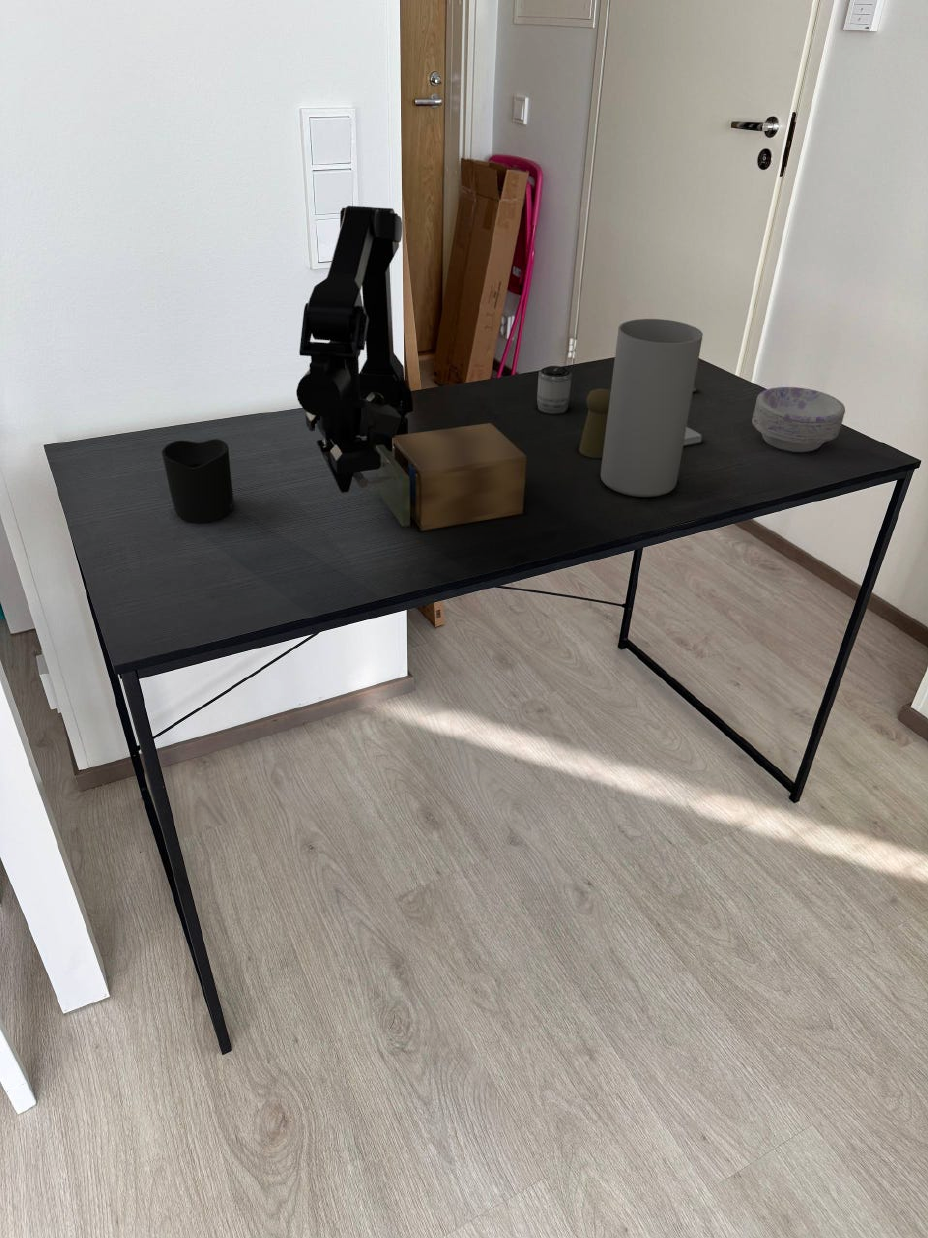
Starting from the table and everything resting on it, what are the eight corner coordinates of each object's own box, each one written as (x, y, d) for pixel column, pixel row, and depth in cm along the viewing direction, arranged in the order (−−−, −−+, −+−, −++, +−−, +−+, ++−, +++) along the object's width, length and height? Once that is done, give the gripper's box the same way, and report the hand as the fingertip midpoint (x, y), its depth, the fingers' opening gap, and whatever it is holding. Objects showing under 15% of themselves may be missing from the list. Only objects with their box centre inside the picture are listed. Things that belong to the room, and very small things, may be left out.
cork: (611, 459, 156) (619, 398, 150) (577, 456, 157) (583, 395, 151) (614, 446, 161) (621, 386, 155) (580, 442, 162) (586, 383, 156)
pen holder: (204, 531, 132) (194, 468, 126) (159, 514, 136) (148, 452, 130) (249, 506, 138) (241, 446, 133) (205, 491, 142) (196, 431, 137)
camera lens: (570, 404, 178) (574, 365, 173) (566, 416, 172) (569, 376, 168) (538, 401, 179) (541, 362, 174) (533, 412, 174) (536, 372, 169)
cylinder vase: (592, 491, 146) (610, 336, 132) (609, 461, 156) (627, 314, 142) (669, 504, 143) (696, 348, 129) (681, 473, 152) (707, 324, 138)
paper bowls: (786, 465, 156) (797, 422, 152) (731, 432, 168) (739, 391, 163) (852, 452, 162) (865, 410, 157) (795, 421, 173) (805, 381, 169)
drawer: (366, 532, 131) (364, 484, 126) (343, 496, 140) (340, 449, 136) (498, 510, 138) (500, 463, 133) (467, 477, 147) (469, 432, 143)
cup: (404, 500, 137) (403, 467, 134) (415, 487, 141) (415, 454, 138) (434, 505, 136) (434, 472, 133) (444, 492, 140) (445, 459, 137)
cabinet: (421, 531, 134) (421, 471, 128) (393, 492, 144) (391, 435, 138) (522, 513, 139) (526, 456, 133) (488, 477, 149) (490, 422, 144)
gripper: (416, 406, 120) (416, 511, 128) (375, 362, 134) (377, 459, 143) (334, 416, 116) (340, 523, 125) (301, 369, 130) (308, 468, 139)
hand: (344, 491), depth 133 cm, fingers closed, pressing on drawer
